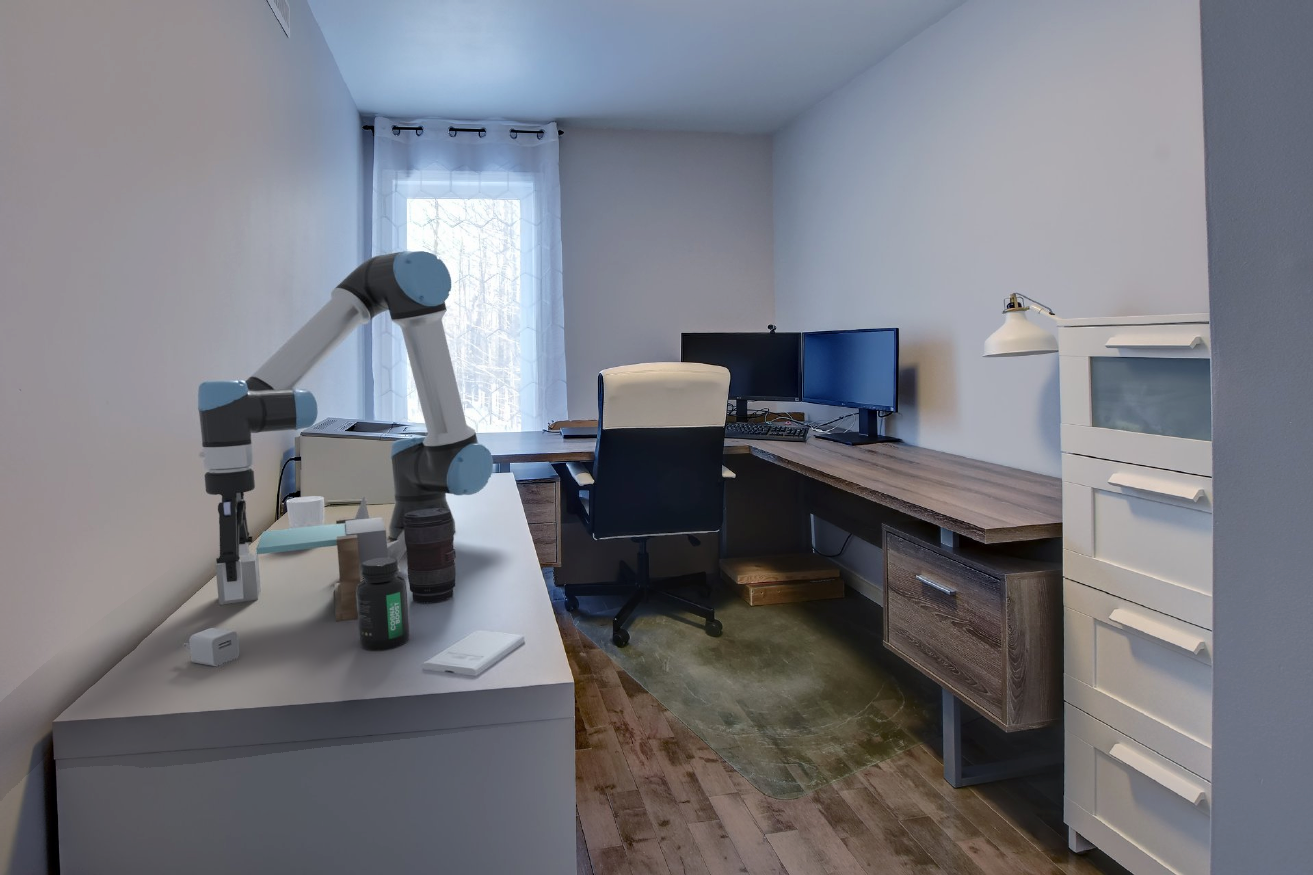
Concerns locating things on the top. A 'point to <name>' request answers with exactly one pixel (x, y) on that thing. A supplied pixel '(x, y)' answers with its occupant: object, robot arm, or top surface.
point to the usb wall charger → (213, 646)
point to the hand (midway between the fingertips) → (238, 588)
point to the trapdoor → (329, 538)
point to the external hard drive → (474, 653)
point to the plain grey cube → (248, 579)
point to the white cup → (306, 511)
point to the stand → (347, 575)
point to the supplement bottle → (382, 605)
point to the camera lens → (430, 554)
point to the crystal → (393, 548)
